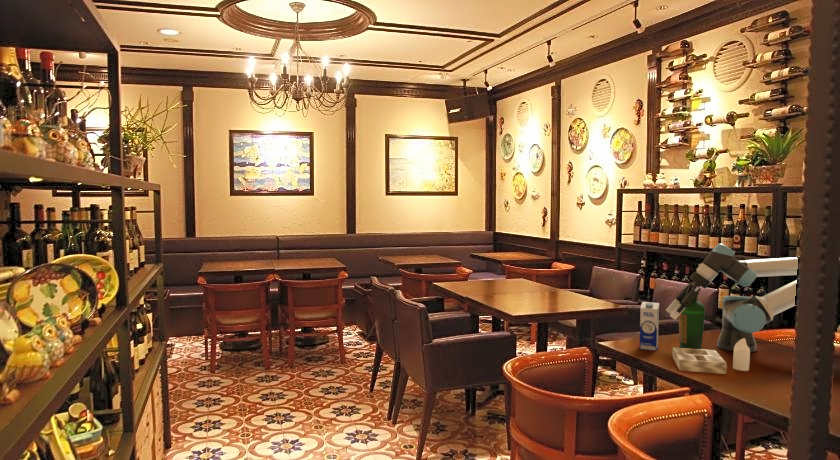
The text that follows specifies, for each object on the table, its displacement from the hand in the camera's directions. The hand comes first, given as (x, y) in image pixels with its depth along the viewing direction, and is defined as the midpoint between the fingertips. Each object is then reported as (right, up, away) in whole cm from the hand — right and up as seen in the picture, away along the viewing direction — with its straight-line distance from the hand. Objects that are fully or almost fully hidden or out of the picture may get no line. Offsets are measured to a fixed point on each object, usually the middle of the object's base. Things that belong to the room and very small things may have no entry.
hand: (670, 315), depth 254 cm
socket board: (+1, -16, -22) cm, 28 cm away
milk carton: (-8, -15, +4) cm, 18 cm away
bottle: (+9, -16, +2) cm, 18 cm away
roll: (+16, -17, -27) cm, 36 cm away
